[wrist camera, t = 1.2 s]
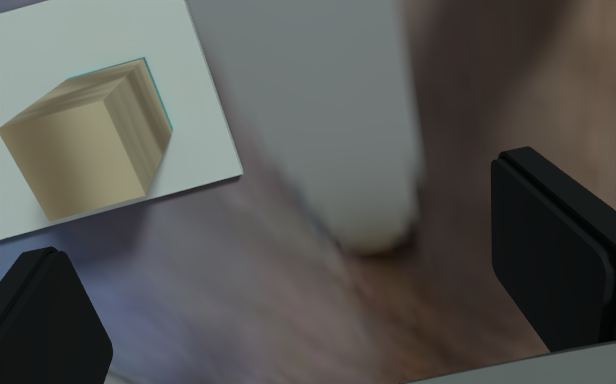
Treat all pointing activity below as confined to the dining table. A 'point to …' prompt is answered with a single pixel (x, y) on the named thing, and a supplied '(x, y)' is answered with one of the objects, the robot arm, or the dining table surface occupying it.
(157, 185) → the grey mat
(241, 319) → the dining table surface
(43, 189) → the oak block
